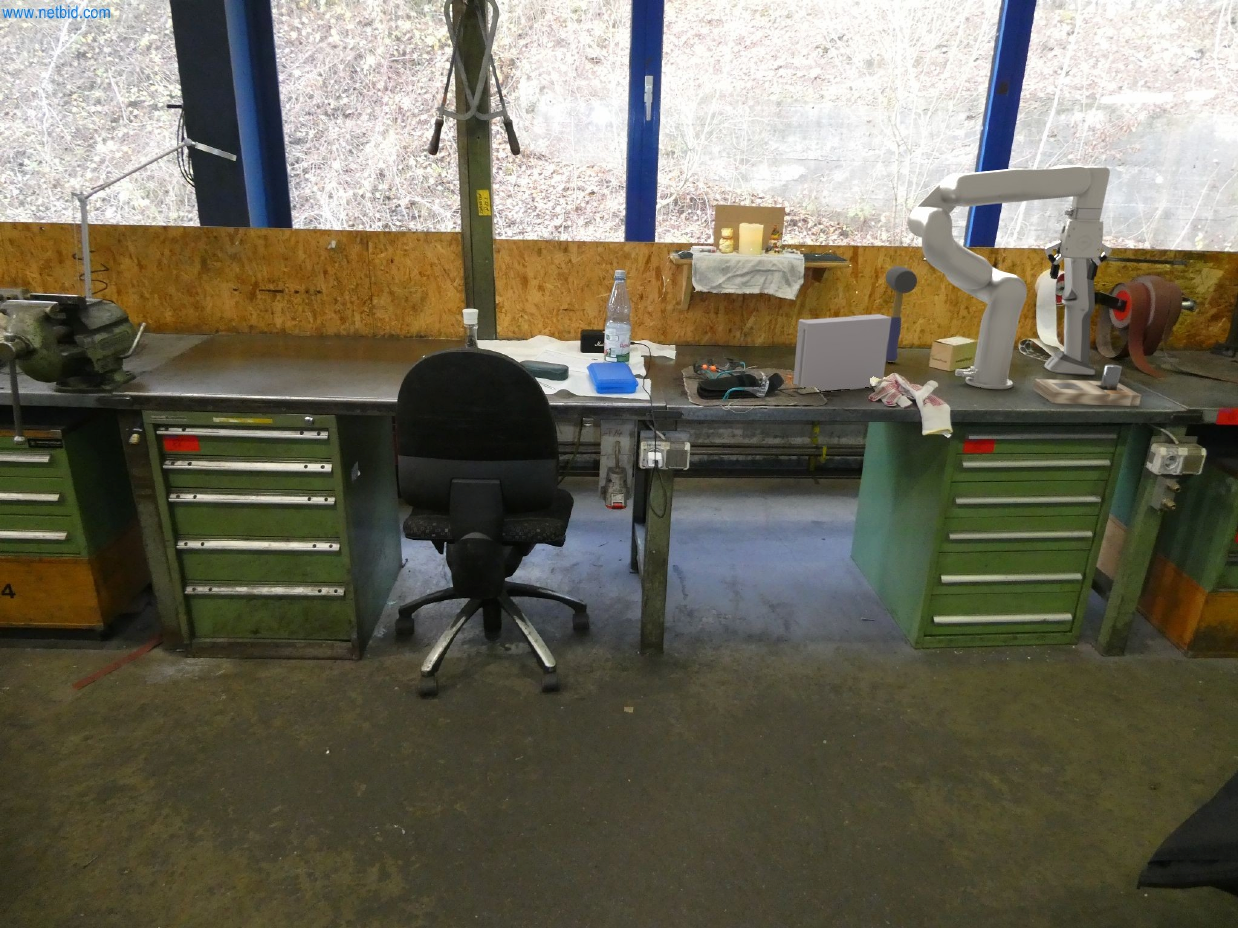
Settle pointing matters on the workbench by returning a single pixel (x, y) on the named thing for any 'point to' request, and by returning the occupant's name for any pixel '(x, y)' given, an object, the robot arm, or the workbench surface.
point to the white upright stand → (1075, 320)
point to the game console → (841, 351)
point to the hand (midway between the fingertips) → (1071, 279)
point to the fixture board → (1085, 393)
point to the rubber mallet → (898, 304)
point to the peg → (1110, 377)
